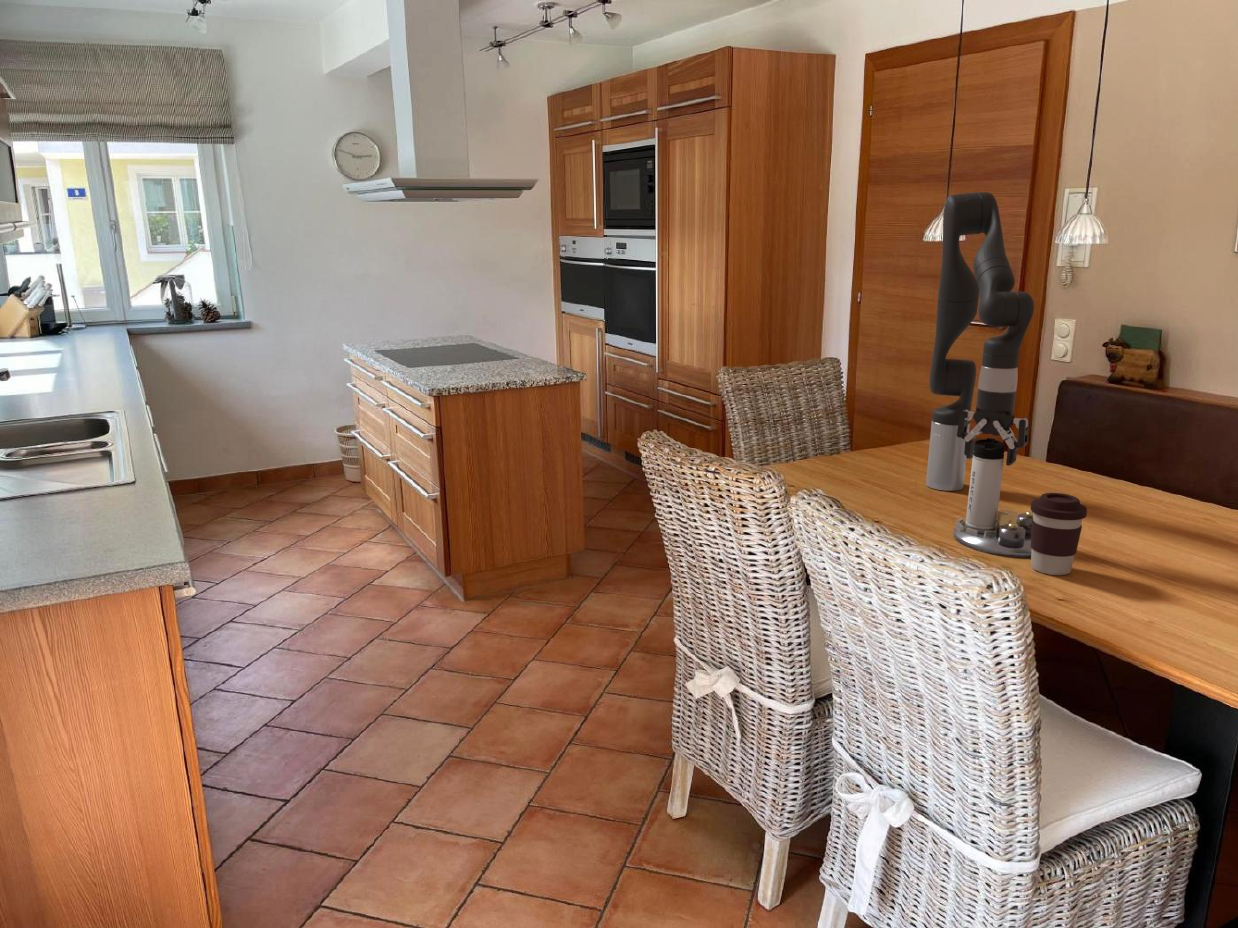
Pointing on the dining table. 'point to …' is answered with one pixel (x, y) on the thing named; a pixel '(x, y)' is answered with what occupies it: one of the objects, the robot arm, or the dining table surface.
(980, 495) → the travel mug
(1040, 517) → the coffee cup
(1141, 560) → the dining table surface
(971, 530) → the carrier plate
